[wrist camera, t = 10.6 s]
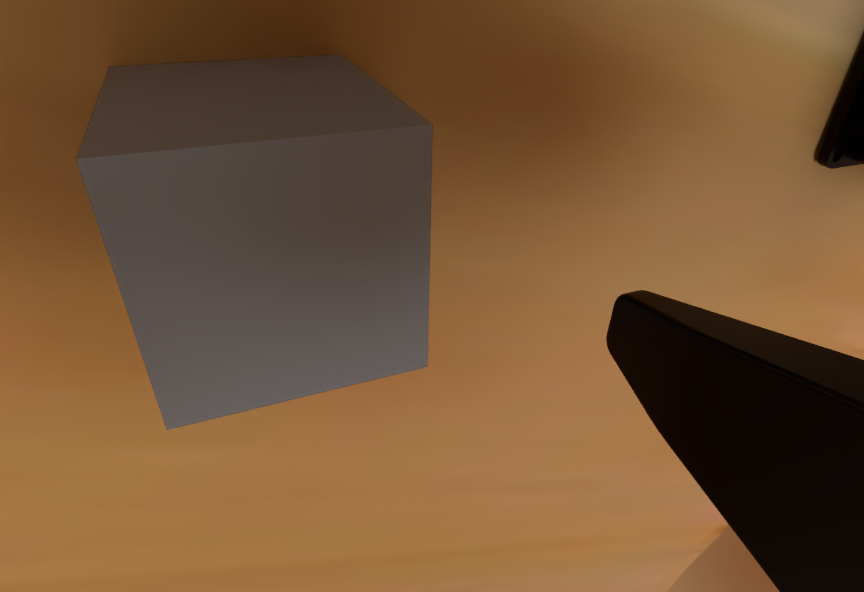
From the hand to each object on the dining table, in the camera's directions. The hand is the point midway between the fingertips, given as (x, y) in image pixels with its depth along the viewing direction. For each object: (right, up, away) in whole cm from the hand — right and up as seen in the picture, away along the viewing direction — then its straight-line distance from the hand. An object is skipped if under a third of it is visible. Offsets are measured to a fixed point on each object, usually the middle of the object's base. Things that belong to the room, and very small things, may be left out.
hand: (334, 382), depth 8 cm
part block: (-3, +4, +7) cm, 9 cm away
